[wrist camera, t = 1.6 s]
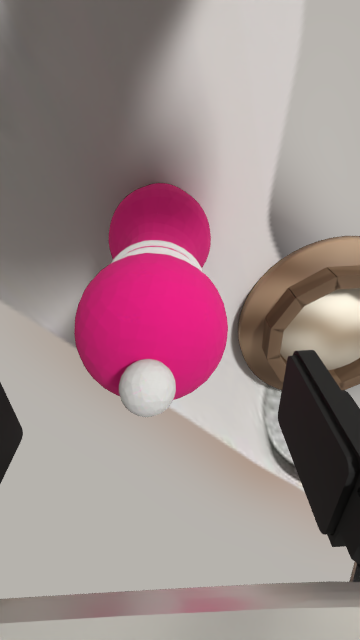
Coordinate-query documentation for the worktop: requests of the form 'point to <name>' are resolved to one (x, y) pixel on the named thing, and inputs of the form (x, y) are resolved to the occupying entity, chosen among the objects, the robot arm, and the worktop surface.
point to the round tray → (306, 312)
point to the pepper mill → (153, 303)
